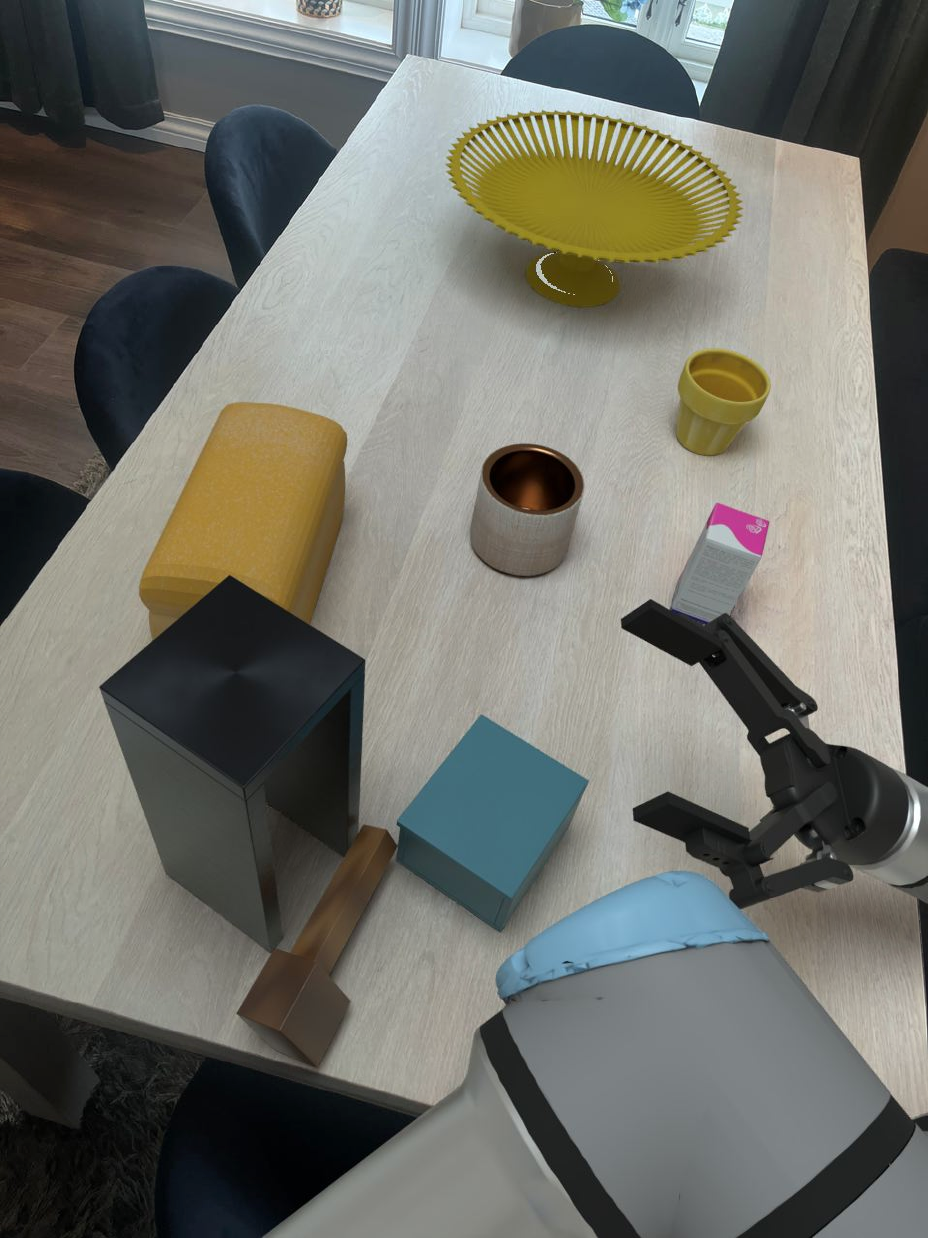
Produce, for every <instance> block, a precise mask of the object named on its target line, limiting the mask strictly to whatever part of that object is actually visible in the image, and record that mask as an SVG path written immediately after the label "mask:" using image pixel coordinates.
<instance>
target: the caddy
mask: <svg viewBox="0 0 928 1238" xmlns="http://www.w3.org/2000/svg"><path fill="white" fill-rule="evenodd" d="M587 787H588V785H587V786H586V788H585V789H584V791H583V792H582V794H581V796H580V797H579V799H578V800H577V802H576V803H575V805H574V806H573V808H572V809H571V811H570V812H569V814H568V815H567V817H566V818H565V820H564V821H563V823H562V825H561V826H560V828H559V829H558V831H557V832H556V834H555V835H554V837H553V838H552V840H551V841H550V843H549V844H548V846H547V847H546V849H545V850H544V852H543V853H542V855H541V857H540V858H539V860H538V861H537V863H536V864H535V866H534V867H533V869H532V870H531V872H530V873H529V875H528V876H527V878H526V879H525V881H524V882H523V884H522V885H521V887H520V889H519V890H518V892H517V893H516V895H515V896H514V898H513V899H512V901H511V902H509V901H508V900H506V899H505V898H503V897H502V896H500V895H499V894H497V893H496V892H494V891H493V890H491V889H490V888H489V887H487V886H486V885H484V884H483V883H481V882H480V881H478V880H477V879H475V878H474V877H472V876H471V875H469V874H468V873H466V872H465V871H463V870H462V869H460V868H459V867H458V866H456V865H455V864H453V863H452V862H450V861H449V860H447V859H446V858H444V857H443V856H441V855H440V854H438V853H437V852H435V851H434V850H432V849H431V848H429V847H428V846H426V845H425V844H424V843H422V842H421V841H419V840H418V839H416V838H415V837H413V836H412V835H410V834H409V833H407V832H406V831H404V830H403V829H401V828H400V827H399V832H398V841H397V846H398V847H397V849H396V855H395V856H396V857H395V861H396V862H397V863H399V864H400V865H401V866H403V867H404V868H406V869H408V870H409V871H410V872H411V873H413V874H415V875H416V876H418V877H419V878H420V879H421V880H423V881H425V882H426V883H428V884H429V885H430V886H432V887H433V888H435V889H436V890H438V891H439V892H441V893H442V894H444V895H445V896H447V898H449V899H451V900H452V901H454V902H455V903H457V904H458V905H460V906H461V907H462V908H464V909H465V910H467V911H469V912H470V913H471V914H472V915H474V916H476V917H477V918H478V919H480V920H481V921H483V922H484V923H486V924H487V925H489V926H490V927H491V928H493V929H494V930H496V931H497V932H498V933H501V932H502V931H503V930H504V927H505V926H506V924H507V923H508V922H509V920H510V919H511V917H512V915H513V913H514V912H515V911H516V910H517V908H518V906H519V904H520V903H521V902H522V900H523V898H524V897H525V895H526V894H527V892H528V890H529V889H530V888H531V886H532V884H533V883H534V881H535V880H536V878H537V877H538V875H539V873H541V871H542V869H543V868H544V866H545V865H546V863H547V862H548V860H549V859H550V857H551V855H552V853H553V852H554V850H556V848H557V846H558V844H559V843H560V841H561V840H562V838H563V836H565V833H566V832H567V830H568V829H569V828H570V825H571V823H572V820H573V818H574V817H575V813H576V811H577V809H578V807H579V806H580V805H579V804H580V803H581V800H582V798H583V796H584V794H585V791H586V789H587Z"/></svg>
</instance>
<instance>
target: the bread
mask: <svg viewBox="0 0 928 1238" xmlns="http://www.w3.org/2000/svg"><path fill="white" fill-rule="evenodd" d="M347 434H348V433H347V432H346V431H345V429H344V428H343V426H342V425H341V424H340V423H338V422H337V421H335V420H333V419H331V418H329V417H327V416H323V415H321V414H317V413H314V412H311V411H306V410H302V409H299V408H296V407H292V406H287V405H284V404H283V405H282V404H277V403H276V404H275V403H265V402H253V401H251V402H250V401H235V402H232V403H228V404H226V405H225V406H224V407H223V408H222V410H220V412H219V414H218V416H217V419H216V420H215V422H214V425H213V427H212V429H211V431H210V433H209V435H208V436H207V439H206V441H205V443H204V445H203V448H202V449H201V452H200V454H199V455H198V458H197V459H196V461H195V464H194V466H193V468H192V470H191V471H190V474H189V476H188V478H187V480H186V482H185V483H184V484H185V485H184V486H183V488H182V490H181V493H180V495H179V497H178V499H177V501H176V503H175V505H174V507H173V509H172V511H171V513H170V515H169V517H168V519H167V521H166V524H165V525H164V528H163V530H162V532H161V534H160V536H159V538H158V540H157V542H156V544H155V546H154V549H153V551H152V552H151V555H150V556H149V559H148V560H147V563H146V565H145V567H144V570H143V571H142V574H141V578H140V582H139V585H138V596H139V598H140V600H141V601H140V602H141V603H142V604H143V605H144V607H145V608H146V609H147V610H148V624H149V630H150V636H151V641H153V640H154V639H155V638H156V637H157V636H159V635H160V634H161V633H162V632H163V631H164V630H166V629H167V628H168V627H169V626H170V625H171V624H173V623H174V622H175V621H176V620H177V619H178V618H180V617H181V616H182V615H183V614H184V613H185V612H187V611H188V610H189V609H190V608H191V607H192V606H194V605H195V604H196V603H197V602H198V601H199V600H201V599H202V598H203V597H204V596H205V595H206V594H208V593H209V592H210V591H211V590H212V589H213V588H215V587H216V586H217V585H218V584H219V583H220V582H222V581H223V580H224V579H225V578H226V577H227V576H229V575H231V576H232V577H234V578H236V579H237V580H239V581H240V582H242V583H244V584H245V585H247V586H248V587H250V588H252V589H253V590H255V591H256V592H258V593H260V594H261V595H263V596H264V597H266V598H268V599H269V600H271V601H272V602H274V603H276V604H277V605H279V606H280V607H282V608H284V609H285V610H287V611H288V612H290V613H292V614H293V615H295V616H296V617H298V618H300V619H301V620H303V621H304V622H306V623H308V624H309V625H311V621H312V619H313V615H314V612H315V609H316V606H317V603H318V599H319V597H320V593H321V589H322V587H323V584H324V581H325V577H326V574H327V571H328V569H329V568H328V567H329V565H330V562H331V558H332V555H333V552H334V550H335V546H336V543H337V540H338V537H339V533H340V530H341V526H342V520H343V516H344V511H345V504H346V503H345V501H346V466H345V457H346V453H347V447H348V435H347Z"/></svg>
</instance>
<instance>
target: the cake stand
mask: <svg viewBox="0 0 928 1238" xmlns="http://www.w3.org/2000/svg"><path fill="white" fill-rule="evenodd" d="M555 115H556V116H557V118H558V121H559V127H560V133H561V141H562V150H563V153H562V150H561V147H560V144H559V139H558V133H557V127H556V119H555V118H556V117H555ZM543 116H545V117H546V121H547V124H548V128H549V132H550V137H551V141H552V147H553V150H552V147H551V145H550V143H549V139H548V136H547V132H546V128H545V123H544V117H543ZM568 116H570V124H571V134H572V136H571V137H572V155H571V150H570V145H569V137H568V135H569V134H568V118H567V117H568ZM532 117H533V118H534V120H535V123H536V125H537V128H538V131H539V134H540V137H541V140H542V144H543V147H544V149H543V147H542V146H541V144H540V141H539V138H538V137H537V134H536V130H535V128H534V125H533V121H532ZM580 117H582V119H583V120H582V121H583V122H582V123H583V124H582V125H583V131H582V132H583V133H582V134H583V135H582V136H583V137H582V138H583V140H582V149H581V150H582V151H581V155H580V147H579V126H580ZM495 118H496V119H493V120H491V119H486V122H485V123H479V122H477V123H476V124H477V126H478V127H468V128H469V130H470V131H469V132H464V131H461V134H462V135H463V136H464V137H455V139H456V141H457V142H458V143H457V142H456V143H452V142H451V143H450V144H451V146H452V147H453V148H454V149H447V151H448V153H450V154H451V155H449V156H445V158H446V159H447V160H448V161H449V162H448V163H445V166H446V167H448V169H449V170H445V172H446V174H448V175H450V176H451V177H450V178H448V181H450V182H451V183H453V184H454V185H453V186H451V188H452V189H454V190H456V191H457V192H459V193H458V194H457V196H458V197H460V198H462V199H463V200H465V201H464V202H463V203H464V204H465V205H467V206H469V207H471V208H473V209H472V212H475V213H477V214H479V215H481V216H482V217H481V219H483V220H485V221H488V222H491V223H493V224H492V226H494V227H496V228H498V229H502V230H504V233H507V234H510V235H513V236H515V237H517V238H518V239H520V240H523V241H527V242H529V243H531V245H534V246H538V247H543V248H546V249H547V250H551V251H549V252H546V253H542V254H539V255H537V256H535V257H534V258H532V259H530V261H529V262H528V264H527V266H526V269H525V277H526V280H527V283H528V284H529V285H530V287H531V288H532V289H533V290H534V291H535V292H536V293H538V294H539V295H541V296H542V297H544V298H545V299H548V300H550V301H552V302H555V303H558V304H560V305H565V306H569V307H570V306H571V307H577V308H578V307H579V308H592V307H599V306H602V305H604V304H605V305H606V304H607V303H609V302H611V301H613V300H614V299H615V298H616V297H617V296H618V294H619V292H620V289H621V280H620V278H619V275H618V274H617V273H616V271H615V270H614V269H612V267H610V266H609V265H608V264H606V263H605V262H609V263H611V262H612V263H614V262H617V263H622V264H623V263H624V264H629V263H637V264H644V263H659V261H661V262H672V261H673V260H685V259H687V258H686V256H689V257H690V256H698V254H697V253H707V252H709V250H708V249H709V248H717V247H718V245H717V244H719V243H724V242H726V239H724V238H727V237H732V236H733V234H731V233H730V232H733V231H737V230H738V228H737V227H735V225H738V224H739V225H740V224H741V223H742V221H740V220H738V218H742V217H744V215H743V214H741V213H739V212H740V211H742V210H744V207H741V206H740V205H739V204H741V203H743V202H744V200H741V199H739V198H738V196H740V195H741V193H740V192H737V191H735V189H737V188H738V185H734V184H732V183H730V182H731V181H733V178H729V177H727V176H725V175H726V174H727V171H724V170H720V169H718V168H719V167H720V164H715V163H713V162H711V160H712V157H705V156H703V155H702V154H703V151H697V150H695V149H693V147H694V146H693V145H688V144H684V143H683V139H675V138H673V137H672V135H671V134H664V133H661V132H660V129H656V130H655V129H651V128H649V127H648V126H647V125H648V124H647V125H639V124H637V123H636V124H635V121H631V122H628V121H625V120H623V119H622V118H621V117H620V118H612V117H610V116H609V115H606V116H601V115H598V114H597V113H595V112H594V113H592V114H587V113H584V112H583V111H580V112H573V111H570V110H569V109H568V110H567V111H566V112H563V111H558V110H557V109H554V111H546V110H544V109H542V110H541V111H540V112H535V111H532V110H529V112H527V113H525V112H521V111H517V114H509V113H506V116H503V117H501V116H498V115H496V116H495ZM520 118H522V119H523V122H524V124H525V127H526V129H527V131H528V132H529V135H530V138H531V140H532V143H533V145H534V148H535V150H534V148H533V146H532V145H531V142H530V141H529V139H528V137H527V135H526V132H525V130H524V127H523V125H522V123H521V120H520ZM593 118H594V119H595V128H594V136H593V137H594V138H593V143H592V144H593V145H592V150H591V154H590V157H589V148H590V147H589V146H590V145H589V144H590V135H591V128H592V127H591V126H592V121H593V120H592V119H593ZM510 120H511V121H512V122H513V125H514V126H515V128H516V131H518V134H519V136H520V137H521V139H522V141H523V145H524V146H525V148H526V150H527V151H526V150H525V149H524V147H523V145H522V143H521V142H520V141H519V139H518V137H517V135H516V133H515V131H514V129H513V127H512V125H511V122H510ZM605 121H608V123H607V130H606V135H605V139H604V143H603V147H602V151H601V154H600V157H599V149H600V144H601V143H600V142H601V138H602V133H603V128H604V125H605ZM500 123H501V125H503V127H504V129H505V131H506V132H507V134H508V135H509V137H510V138H511V140H512V142H513V143H514V146H515V147H516V149H517V150H516V149H515V147H514V146H513V145H512V143H511V141H510V140H509V138H508V137H507V135H506V133H505V132H504V130H503V129H502V127H501V125H500ZM618 123H620V127H619V132H618V135H617V138H616V142H615V144H614V147H613V150H612V153H611V155H610V158H609V159H608V155H609V151H610V147H611V143H612V140H613V137H614V133H615V131H616V127H617V125H618ZM491 127H493V128H494V130H495V131H496V133H497V134H498V135H499V137H500V138H501V140H502V142H503V143H504V144H505V146H506V147H507V149H508V150H507V149H506V148H505V147H504V145H503V144H502V143H501V142H500V140H499V139H498V137H497V136H496V135H495V133H494V131H493V130H492V128H491ZM630 127H632V131H631V133H630V137H629V139H628V141H627V144H626V146H625V148H624V150H623V152H622V155H620V156H621V157H620V159H619V160H618V162H617V159H618V156H619V153H620V150H621V147H622V145H623V142H624V140H625V137H626V135H627V133H628V131H629V129H630ZM483 131H484V132H485V133H486V135H487V136H489V138H490V139H491V140H492V142H493V143H494V144H495V146H496V147H497V148H498V149H499V151H500V152H499V151H498V150H497V148H495V147H494V146H493V144H492V143H491V142H490V140H489V139H488V137H486V135H485V134H484V132H483ZM642 131H645V132H644V133H643V135H642V138H641V140H640V142H639V144H638V146H637V148H636V149H635V152H634V153H633V155H632V157H631V158H630V160H629V161H628V160H627V159H628V157H629V155H630V154H631V151H632V149H633V147H634V145H635V143H636V141H637V139H638V137H639V136H640V134H641V133H642ZM476 135H477V136H478V137H479V138H480V139H481V140H482V142H483V144H485V145H486V147H488V148H489V150H490V151H491V152H492V153H490V151H488V150H487V149H486V147H484V146H483V144H482V143H481V142H480V141H479V139H478V138H477V137H476ZM654 135H656V137H655V138H654V141H653V142H652V144H651V146H649V149H648V150H647V152H646V153H645V155H644V156H643V157H642V159H641V160H640V162H639V163H638V164H637V166H635V164H636V163H637V161H638V160H639V157H640V156H641V154H642V152H643V151H644V149H645V148H646V146H647V145H648V143H649V141H650V140H651V139H652V137H653V136H654ZM666 139H667V140H668V141H667V142H666V143H665V145H664V146H663V148H662V149H661V151H660V152H659V153H658V154H657V156H655V158H654V159H653V161H651V163H650V164H649V165H648V166H647V167H646V168H645V166H646V165H647V163H648V161H649V160H650V159H651V158H652V156H653V155H654V153H655V152H656V151H657V149H658V148H659V147H660V146H661V145H662V143H664V141H665V140H666ZM470 141H471V142H473V144H474V145H475V146H476V147H477V148H478V149H479V150H480V151H481V152H482V153H483V154H484V155H485V156H484V155H482V154H481V152H479V151H478V150H477V149H476V147H475V146H474V145H473V144H472V143H471V142H470ZM676 145H678V146H677V147H676V149H675V150H674V151H673V153H672V154H671V155H670V156H669V157H668V158H667V159H666V161H664V163H663V164H662V165H661V166H660V167H658V168H657V169H656V170H655V171H654V172H652V171H653V170H654V169H655V168H656V166H657V165H658V164H659V163H660V162H661V161H662V160H663V158H664V157H665V156H667V154H668V153H669V152H670V151H671V150H672V149H673V148H674V147H675V146H676ZM466 147H467V148H468V149H469V150H470V151H472V152H473V153H474V155H476V156H477V157H478V158H479V159H480V160H478V159H477V158H476V157H475V156H474V155H473V154H472V153H471V152H469V151H468V149H467V148H466ZM508 151H509V152H508ZM685 151H688V152H687V153H686V154H685V155H684V156H683V157H682V158H681V159H680V160H679V161H678V162H677V163H676V164H675V165H674V166H673V167H672V168H671V169H670V170H668V171H666V173H664V174H662V173H663V172H664V171H665V170H666V169H667V168H668V167H669V166H670V165H671V164H672V163H673V162H675V160H677V158H679V157H680V156H681V155H682V154H683V153H684V152H685ZM510 153H511V154H510ZM463 154H464V155H465V156H466V157H468V158H469V159H470V160H471V161H472V162H473V163H474V164H473V163H472V162H471V161H470V160H469V159H467V158H466V157H465V156H464V155H463ZM492 154H493V155H494V156H493V155H492ZM580 156H581V157H580ZM695 156H696V157H697V158H696V159H694V160H693V161H692V162H691V163H690V164H689V165H688V166H686V167H685V168H684V169H683V170H682V171H681V172H679V173H678V174H677V175H675V176H673V175H674V174H675V173H676V172H677V171H678V170H679V169H680V168H681V167H683V166H684V165H685V164H687V163H688V162H689V161H690V160H692V159H693V158H695ZM598 157H599V158H598ZM487 158H488V159H487ZM598 159H599V160H598ZM461 160H462V162H461ZM481 161H482V162H481ZM626 161H628V163H627V162H626ZM463 162H464V163H465V164H467V165H468V166H469V167H471V168H472V169H473V170H474V171H473V170H472V169H470V168H469V167H468V166H467V165H465V164H464V163H463ZM616 162H617V164H616ZM626 163H627V164H626ZM703 163H705V164H704V165H703V166H702V167H701V168H700V169H698V170H697V171H695V172H694V173H693V174H691V175H690V176H688V177H687V178H685V179H683V180H681V179H682V178H683V177H685V176H686V175H688V174H689V173H690V172H691V171H693V170H694V169H696V168H697V167H699V166H700V165H701V164H703ZM475 164H476V165H475ZM634 166H635V168H634ZM461 168H462V169H463V170H462V169H461ZM644 168H645V169H644ZM643 169H644V170H643ZM464 170H465V171H464ZM710 170H712V171H711V172H709V173H708V174H706V175H705V176H704V177H702V178H700V179H698V180H697V181H695V182H694V183H692V184H689V183H690V182H692V181H694V180H695V179H696V178H698V177H700V176H702V174H704V173H706V172H708V171H710ZM468 173H469V174H468ZM659 176H660V177H659ZM671 176H673V177H672V178H670V177H671ZM717 176H718V178H716V177H717ZM464 177H465V178H464ZM669 178H670V179H669ZM714 178H716V179H715V180H714V181H712V182H709V183H708V184H707V185H705V186H703V187H701V188H699V189H697V190H694V191H692V190H693V189H695V188H697V187H699V186H701V185H702V184H704V183H706V182H708V181H710V180H712V179H714ZM469 180H470V181H469ZM679 180H681V181H680V182H678V181H679ZM677 182H678V183H677ZM722 183H723V185H721V186H718V185H720V184H722ZM687 184H689V185H687ZM686 185H687V186H686ZM716 186H718V187H717V188H715V189H714V190H711V191H708V190H710V189H712V188H714V187H716ZM683 187H684V188H683ZM690 191H691V192H690ZM705 191H708V192H707V193H705V194H702V193H704V192H705ZM724 191H726V192H725V193H723V194H721V195H719V196H716V197H714V198H711V199H709V200H706V201H704V200H705V199H707V198H710V197H712V196H714V195H717V194H719V193H722V192H724ZM700 194H702V195H700ZM697 195H700V196H697ZM727 198H729V199H727ZM724 199H726V200H725V201H722V202H719V203H716V202H718V201H721V200H724ZM713 203H716V204H714V205H711V206H708V205H710V204H713ZM728 205H729V206H728ZM706 206H707V207H706ZM725 206H728V207H725ZM722 207H725V208H723V209H720V210H716V211H713V210H715V209H719V208H722ZM710 211H713V212H710ZM724 213H727V214H724ZM720 214H723V215H720ZM717 215H720V216H717ZM713 216H717V217H713ZM710 217H712V218H710ZM721 220H724V221H721ZM716 221H721V222H716ZM713 222H715V223H713ZM708 223H710V224H708ZM715 227H716V228H715ZM710 228H711V229H710ZM710 233H712V234H710ZM554 252H557V253H554ZM550 253H554V254H551V255H549V256H547V257H546V258H544V260H543V261H542V263H541V264H540V265H541V270H542V274H544V277H545V278H546V279H547V281H548V283H551V285H553V286H556V287H557V289H560V290H562V291H565V292H566V293H564V292H561V291H558V290H556V289H553V288H551V287H550V286H548V285H547V284H545V283H544V282H543V281H542V280H541V279H540V278H539V276H538V275H537V272H536V264H537V262H538V261H539V259H541V258H542V257H543V256H545V255H547V254H550ZM598 260H599V261H598ZM604 261H605V262H604ZM605 265H606V266H607V267H608V268H607V267H606V266H605ZM609 270H610V271H611V273H612V274H611V273H610V271H609ZM612 276H613V282H612ZM568 293H570V294H568ZM573 294H575V295H573Z"/></svg>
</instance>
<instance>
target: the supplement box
mask: <svg viewBox="0 0 928 1238" xmlns="http://www.w3.org/2000/svg"><path fill="white" fill-rule="evenodd" d="M769 527H770V520H768V519H766V518H763V517H760V516H757V515H754V514H750V513H747V512H745V511H742V510H740V509H736V508H733V507H731V506H728V505H725V504H722V503H720V502H716V503H715V504H714V506H713V508H712V510H711V512H710V514H709V516H708V518H707V520H706V522H705V525H704V527H703V529H702V530H701V533H700V535H699V537H698V539H697V541H696V543H695V546H694V548H693V550H692V552H691V554H690V555H689V556H688V560H687V562H686V564H685V566H684V568H683V570H682V572H681V574H680V576H679V578H678V580H677V584H676V587H675V591H674V593H673V597H672V601H671V604H670V608H669V610H671V611H673V612H675V613H676V614H679V613H680V614H685V615H687V616H689V617H690V618H692V619H694V621H697V622H699V623H701V624H702V625H706V624H707V623H709V622H711V621H712V620H714V619H715V618H717V617H719V616H720V615H722V614H723V613H727V614H729V615H730V614H732V611H733V610H734V607H735V605H736V604H737V602H738V600H739V599H740V597H741V595H742V593H743V592H744V590H745V587H746V586H747V584H748V583H749V581H750V579H751V578H752V576H753V574H754V572H755V571H756V568H757V567H758V565H759V563H760V561H761V560H762V557H763V554H764V550H765V544H766V540H767V535H768V531H769Z"/></svg>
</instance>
